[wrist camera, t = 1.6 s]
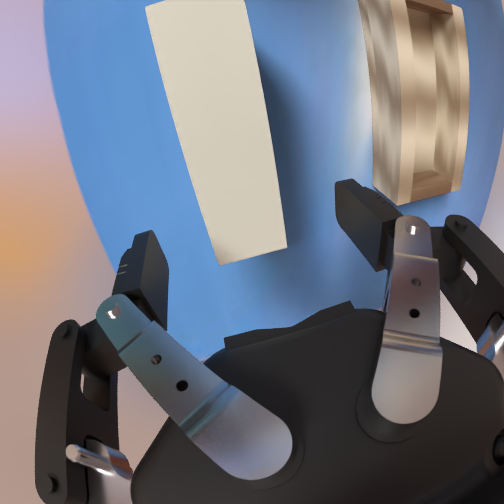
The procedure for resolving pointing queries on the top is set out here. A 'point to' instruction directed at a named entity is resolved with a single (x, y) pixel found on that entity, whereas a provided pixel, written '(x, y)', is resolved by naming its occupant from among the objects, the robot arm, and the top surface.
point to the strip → (221, 122)
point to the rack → (417, 96)
